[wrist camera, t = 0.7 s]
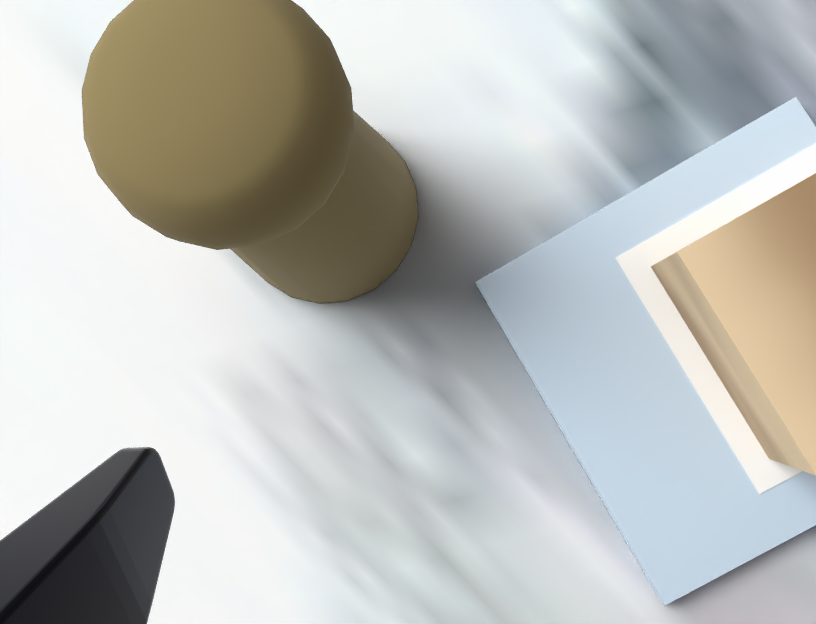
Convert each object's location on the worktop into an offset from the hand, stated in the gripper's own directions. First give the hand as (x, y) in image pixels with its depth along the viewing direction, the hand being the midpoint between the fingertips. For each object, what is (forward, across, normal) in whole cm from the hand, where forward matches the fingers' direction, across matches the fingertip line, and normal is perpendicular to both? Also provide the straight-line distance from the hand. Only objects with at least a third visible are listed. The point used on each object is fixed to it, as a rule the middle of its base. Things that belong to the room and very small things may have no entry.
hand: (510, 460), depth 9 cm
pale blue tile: (+12, -7, +7) cm, 15 cm away
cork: (+15, +5, +3) cm, 16 cm away
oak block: (+12, -9, +6) cm, 16 cm away
